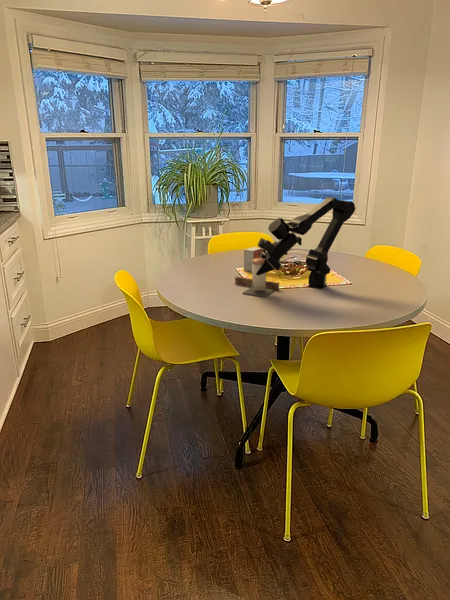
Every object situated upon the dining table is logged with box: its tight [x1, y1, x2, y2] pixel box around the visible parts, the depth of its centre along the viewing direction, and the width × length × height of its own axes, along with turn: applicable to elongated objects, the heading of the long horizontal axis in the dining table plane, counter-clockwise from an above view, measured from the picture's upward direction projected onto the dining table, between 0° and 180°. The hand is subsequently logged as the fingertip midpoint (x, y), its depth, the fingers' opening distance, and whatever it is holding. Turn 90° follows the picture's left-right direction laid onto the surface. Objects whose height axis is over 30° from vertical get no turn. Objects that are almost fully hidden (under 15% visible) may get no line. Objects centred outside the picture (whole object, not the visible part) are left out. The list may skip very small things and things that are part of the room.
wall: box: [234, 276, 280, 291], centre depth 196 cm, size 20×1×3 cm, turn 63°
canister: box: [251, 258, 267, 290], centre depth 186 cm, size 6×6×12 cm
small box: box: [243, 246, 263, 273], centre depth 221 cm, size 8×6×10 cm
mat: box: [242, 286, 275, 298], centre depth 189 cm, size 10×10×1 cm
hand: (255, 272), depth 186 cm, fingers closed on canister, 6 cm apart
